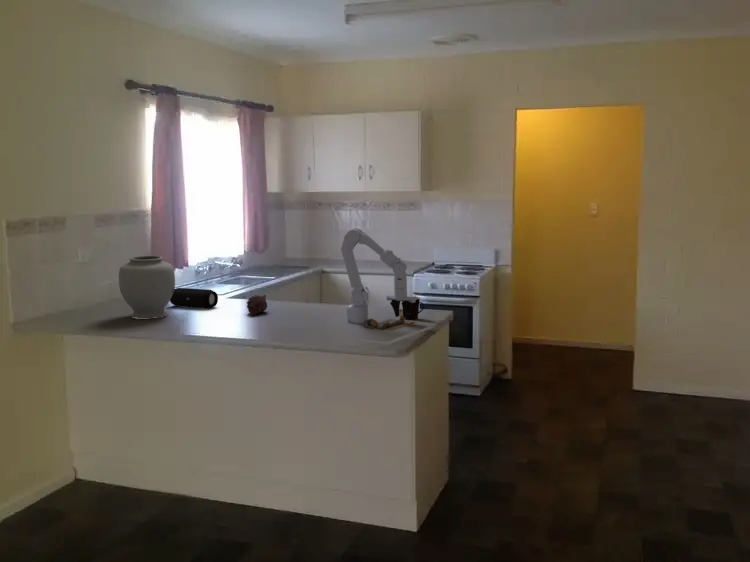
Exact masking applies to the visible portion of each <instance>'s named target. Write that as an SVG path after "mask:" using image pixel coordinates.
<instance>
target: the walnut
mask: <svg viewBox="0 0 750 562" xmlns="http://www.w3.org/2000/svg"><path fill="white" fill-rule="evenodd" d="M377 323H378V321H377V320H376V319H374V320H372V321H371V322H370V325H371V326H374V327H376V326H377Z"/></svg>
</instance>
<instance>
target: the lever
mask: <svg viewBox="0 0 750 562" xmlns="http://www.w3.org/2000/svg"><path fill="white" fill-rule="evenodd" d="M395 320H396V321H392V322H383V321H382V322H383V324H381V325H377V328H380V329H379V330H384V329H383V328H386V327H390V326H393V325H397V324H401V323H404V322H405V321H406V320H405V318H404V317H403V308H402V309H400V308H399V319H395Z"/></svg>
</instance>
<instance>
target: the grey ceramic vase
mask: <svg viewBox="0 0 750 562" xmlns="http://www.w3.org/2000/svg"><path fill="white" fill-rule="evenodd" d="M128 260H129V262H127V263H124V264H122V265H121V266H120V267H119V271H118V287H119V291H120V293H121V294H120V295H121V296H122V298H123V300H124V301H125V303H126V304H127V305H128V306H129V307H130V308H131V309H132V310H133V312H132V314H131V315H130V317H131V316H132V317H138V318H153V317H161V316H165V315H167V316H168V312H167V311H165V308H166V307H167V305H168V303H169V302H170V299H171V297H172V295H173V293H174V289H176V275H175V273H176V272H175V268H174V267H173V265H172V264H171V263H169V262H167V261H163V256H161V255H136V256H131V257H129V259H128ZM165 317H166V316H165Z"/></svg>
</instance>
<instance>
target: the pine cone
mask: <svg viewBox="0 0 750 562" xmlns="http://www.w3.org/2000/svg"><path fill="white" fill-rule="evenodd" d="M266 297H267V295H266V294H264V295H252V296H251V297H249V298H248V301H246V304H247V305H246V308H247V310H248V312H249V314H250V315H254V316H256V315H258V314H260V313H264V312H265V311H266V310H267V308H268V303H267V300H266Z"/></svg>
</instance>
